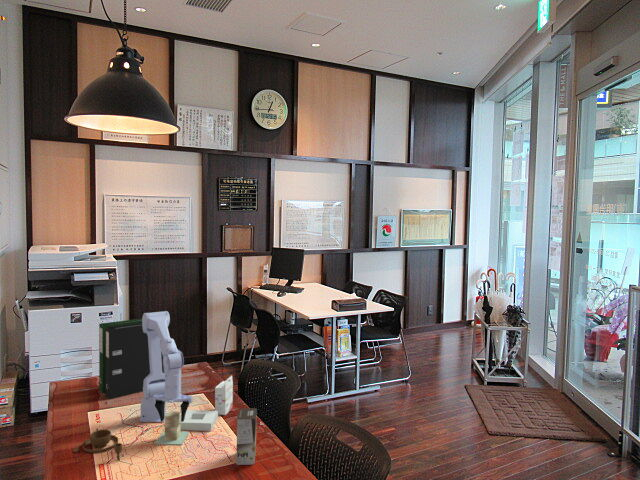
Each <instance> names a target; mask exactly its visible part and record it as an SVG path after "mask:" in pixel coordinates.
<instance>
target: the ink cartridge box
mask: <svg viewBox="0 0 640 480" xmlns="http://www.w3.org/2000/svg"><path fill="white" fill-rule="evenodd" d="M233 388H234V382H233V375H230V376H229V377H228V378H227V379H226V380H222V381H221V382H220V383H218V385H216V386H215V388H214V403H215V404H214V405H215V406H214V411H218V416H227V414H228V413H229V412H230V411H231V410H232V409H233V402H234V397H233V393H234V392H233V391H234V389H233Z"/></svg>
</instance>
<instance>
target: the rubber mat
mask: <svg viewBox="0 0 640 480" xmlns="http://www.w3.org/2000/svg"><path fill="white" fill-rule="evenodd" d="M189 434H190V431H185V430H180V436H179V437H178V439H177V440H165V430H163V432H162V433H161V434H160V435H159V437H158V438H157V440H156V441H155V442H154V445H158V446H159V445H160V446H162V445H163V446H164V445H166V446H169V445H170V446H182V445H183V444H184V443H185V441H186V439H187V437H189Z"/></svg>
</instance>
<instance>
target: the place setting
mask: <svg viewBox="0 0 640 480" xmlns="http://www.w3.org/2000/svg"><path fill="white" fill-rule="evenodd" d="M111 440H113V441H114V442H115V443H114V444H112V445H111V446H108V447H106V446H107V445H108V444H109V443H110V441H111ZM88 444H90V445H92V446H93V447H94V448H98V449H88V448H86V446H87V445H88ZM79 447H80V444H77V447H76V448H74V449H73V452H74V453H78V452H79V451H80V448H79ZM103 447H105V448H103ZM100 448H101V449H100ZM82 449H83V451H85V452H86V453H90V454H98V453H104V452H107V451H110V450H113V449H114V453H115V454H116V461H120V460H121V459H120V458H121V456H120V455H121V453H122V451H123V450H126V448H124V449H123V443H120V442H119V437H117V436H116V435H114V434H112V431H111V430H110V429H98V430H95V431H93V432H91V433H90V435H89V438H88V439H85V441H83V442H82Z"/></svg>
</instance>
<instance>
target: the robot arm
mask: <svg viewBox="0 0 640 480" xmlns="http://www.w3.org/2000/svg"><path fill="white" fill-rule="evenodd" d="M141 319H142V327H143V332H144V333H146V334H147V336H148V346H149V362H150V374H149V375H148V376H147V377H146V378H145V379H144V381H143V392H142V393H143V397H142V399H141V402H140V419H139V422H141V423H143V422H144V423H145V422H147V423H148V422H149V423H163V422H165V415H166V414H167V413H168V412H166V410H167V406H166V405H167V403H181V404H180V412H181V422H183V421H184V419H185V414H186V411H187V410H188V408H189V406H190V404H192V403H193V401H194V400H193V398H194V396H193V395H186V394H182V368H184V365H185V359H184V355H183V352H182V351H181V350H179V349H178V348H177V345H176V342H175V340H174V338H171V336H170V332H169V328H168V327H169V325H170V324H171V323H170V322H171V318H170V313H169V311H167V310H164V311H155V312H144V313H143V314H142V317H141ZM160 340H161V342H160ZM161 352H162V355H163V366H164V373H165V374H164V373H162V361H161ZM161 379H163V380H161ZM155 380H160V381H155ZM151 381H154V382H151Z"/></svg>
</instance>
